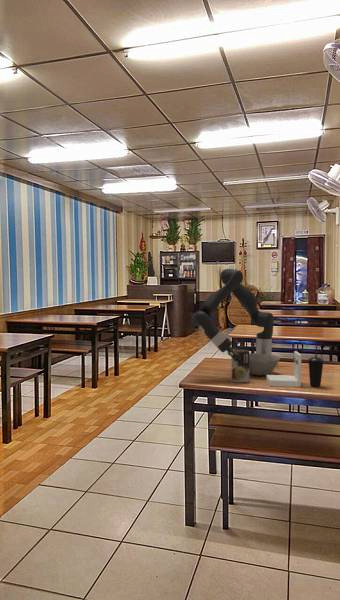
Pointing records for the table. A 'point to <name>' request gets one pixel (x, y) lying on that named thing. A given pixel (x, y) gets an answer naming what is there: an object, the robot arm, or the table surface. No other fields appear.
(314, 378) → the drinking cup
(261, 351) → the robot arm
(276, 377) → the white l-shaped bookend
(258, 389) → the table surface
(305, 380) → the table surface
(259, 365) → the ceramic bowl
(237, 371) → the coffee box
